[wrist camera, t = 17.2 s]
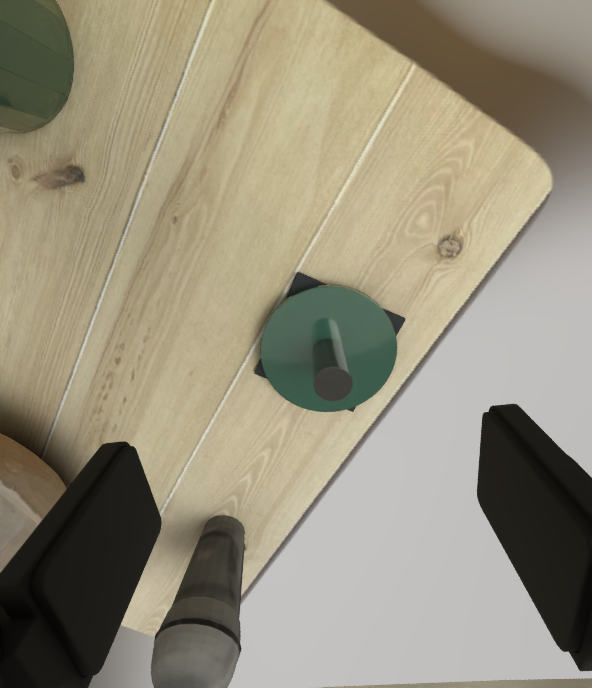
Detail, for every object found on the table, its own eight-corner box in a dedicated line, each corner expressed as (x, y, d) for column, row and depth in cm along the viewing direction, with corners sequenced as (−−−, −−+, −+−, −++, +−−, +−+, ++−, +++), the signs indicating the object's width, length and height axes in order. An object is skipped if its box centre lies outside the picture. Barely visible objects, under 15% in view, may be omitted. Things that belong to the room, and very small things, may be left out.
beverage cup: (244, 561, 43) (201, 835, 25) (184, 543, 42) (92, 814, 24) (266, 517, 41) (235, 787, 22) (202, 498, 40) (115, 761, 21)
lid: (418, 315, 31) (447, 345, 25) (356, 422, 35) (368, 470, 29) (292, 260, 30) (289, 277, 24) (242, 378, 34) (229, 419, 28)
